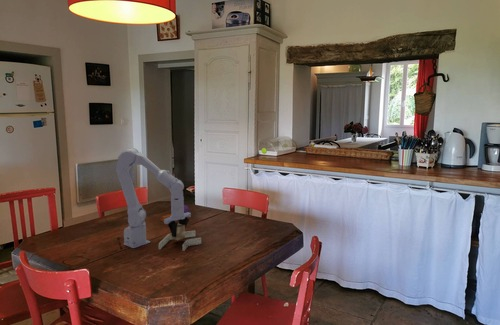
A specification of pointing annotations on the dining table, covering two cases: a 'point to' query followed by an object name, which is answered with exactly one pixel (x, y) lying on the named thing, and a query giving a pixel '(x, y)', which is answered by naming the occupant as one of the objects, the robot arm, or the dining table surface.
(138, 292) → the dining table surface
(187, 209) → the kendama
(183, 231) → the maple block
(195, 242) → the rail track
